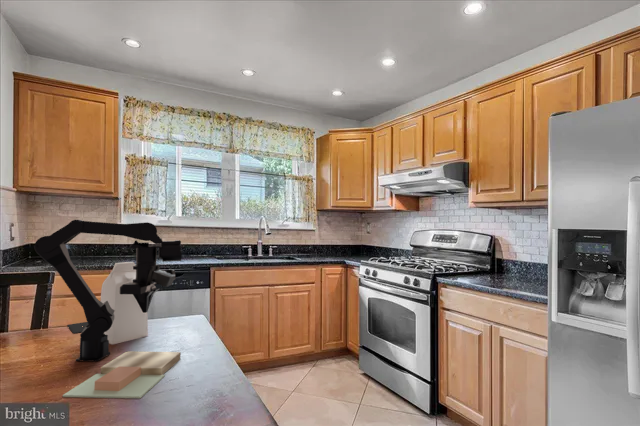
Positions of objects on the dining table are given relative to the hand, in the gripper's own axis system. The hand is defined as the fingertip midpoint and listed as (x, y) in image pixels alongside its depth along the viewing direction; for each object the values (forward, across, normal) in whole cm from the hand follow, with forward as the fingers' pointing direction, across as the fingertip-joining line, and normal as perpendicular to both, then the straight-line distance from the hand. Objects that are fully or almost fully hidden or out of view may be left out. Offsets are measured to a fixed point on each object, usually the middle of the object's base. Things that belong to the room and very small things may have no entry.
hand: (145, 312), depth 111 cm
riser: (+12, -12, -6) cm, 18 cm away
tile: (+12, -23, -6) cm, 26 cm away
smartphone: (+13, +24, +37) cm, 46 cm away
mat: (+12, -24, -6) cm, 28 cm away
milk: (+12, +14, +15) cm, 24 cm away
